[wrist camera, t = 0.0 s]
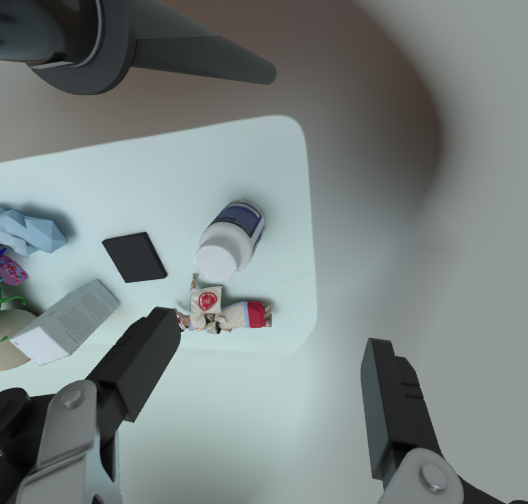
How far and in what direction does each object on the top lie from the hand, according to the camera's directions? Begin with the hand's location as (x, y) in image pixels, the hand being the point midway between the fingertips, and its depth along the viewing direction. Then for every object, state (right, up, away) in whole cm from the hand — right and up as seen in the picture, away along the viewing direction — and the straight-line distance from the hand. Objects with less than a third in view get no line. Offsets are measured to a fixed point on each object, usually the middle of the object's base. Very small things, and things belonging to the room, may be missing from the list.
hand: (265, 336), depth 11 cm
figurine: (-6, -3, +28) cm, 29 cm away
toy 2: (-46, -10, +31) cm, 56 cm away
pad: (-18, +3, +28) cm, 33 cm away
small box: (-28, -4, +34) cm, 44 cm away
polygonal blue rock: (-33, +7, +28) cm, 44 cm away
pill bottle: (-2, +7, +21) cm, 23 cm away
